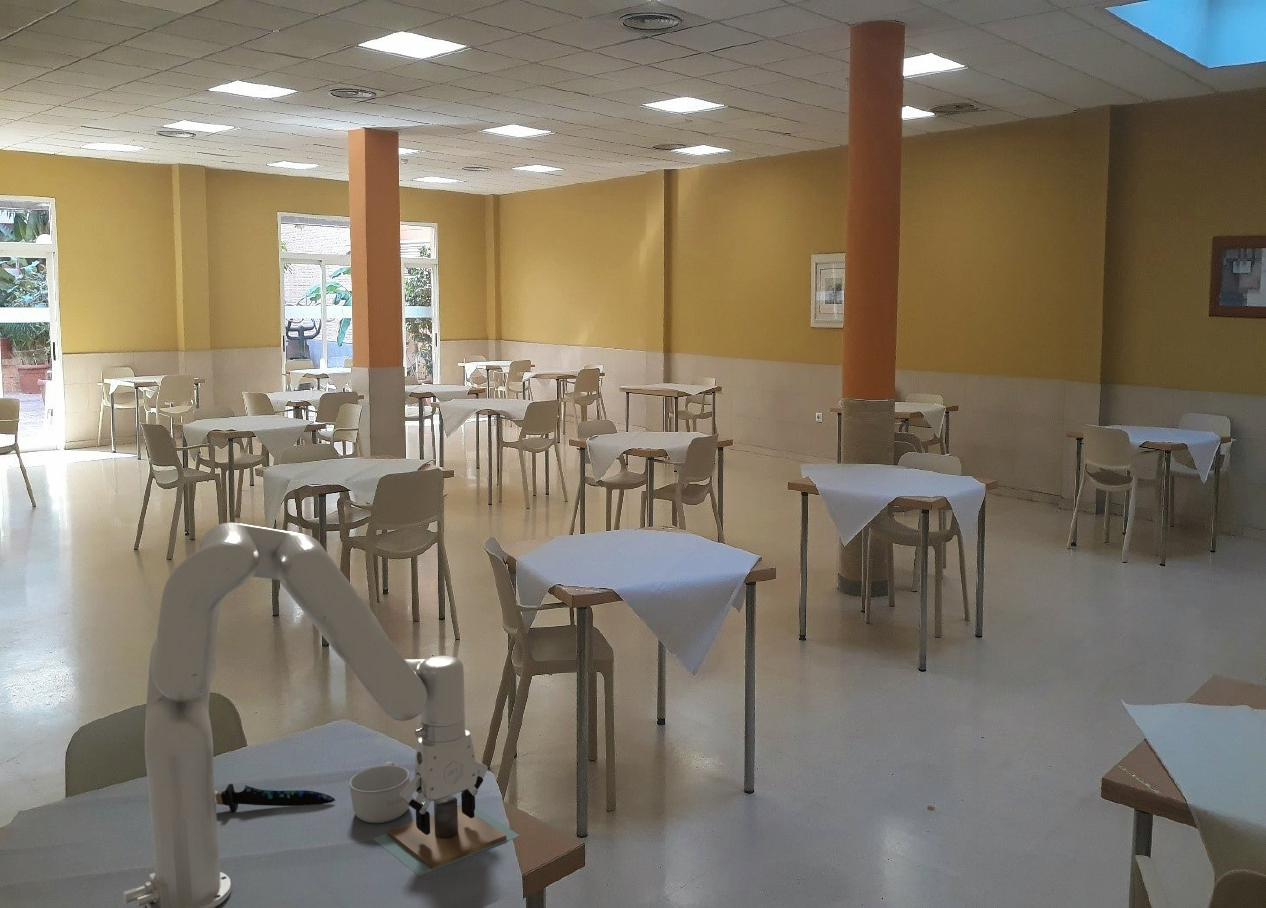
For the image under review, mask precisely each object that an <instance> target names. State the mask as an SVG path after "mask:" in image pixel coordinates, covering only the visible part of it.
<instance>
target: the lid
mask: <svg viewBox="0 0 1266 908" xmlns="http://www.w3.org/2000/svg"><path fill="white" fill-rule="evenodd" d="M433 811H434V812H433V814H430V834H428V835H425V834H424V833H423V832H421V831H420V830H419V829H418V828H417V826H416V820H414V821H412V822H411V821H410V822H408V823H405V824H403V825H400V826H398V827H394V828H392V829H390V830H387V831H386V834H387V835H388V836H389V837H390V838H391V839H393V840H394V841H395V842H397V843H398V844H399V845H400V846H402V847H403V848H404V849H406V850H407V851H408V852H409V853H411V854H412V855H413V856H415V857H416V858H417V859H418V860H420V861H421V862H422V863H424V864H425V865H426V866H427V867H429V868H430V869H433V868H435V867H438V866H440V865H443V864H445V863H448V862H451V861H453V860H456V859H458V858H461V857H463V856H466V855H468V854H471V853H473V852H476V851H478V850H481V849H483V848H486V847H488V846H491V845H494V844H496V843H499V842H501V841H504V840H506V834H504V833H503V832H501V831H500V830H498V829H497V828H495V827H494V826H492V825H491V824H489V823H488V822H486V821H485V820H483V819H481V818H480V817H478V816H477V815H475V814H474V818H469V817H468V816H466V815H465V814H463V813H462V804H458V798H457V797H456V796H454V795H451V796H448V797H445V798H442V799H439V800H435V801H433Z"/></svg>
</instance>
